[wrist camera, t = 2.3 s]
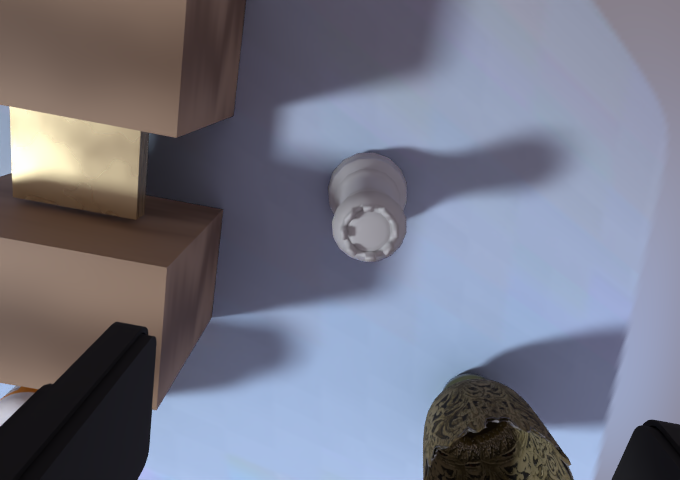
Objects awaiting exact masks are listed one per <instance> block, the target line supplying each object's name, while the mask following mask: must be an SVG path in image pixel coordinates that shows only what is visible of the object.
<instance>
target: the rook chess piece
mask: <svg viewBox="0 0 680 480" xmlns="http://www.w3.org/2000/svg"><path fill="white" fill-rule="evenodd" d="M328 196H329V206H330V208H331V210H332V212H333V214H334V217H333V220H332V230H333V237H334V239H335V241H336V243H337V245H338V247H339V248H340V249H341V250H342V251H343V252H344V253H345V254H347V255H348V256H349V257H351V258H354V259H357V260H359V261H362V262H376V261H380V260H382V259H384V258H387V257H389V256H391V255H392V254H393V253H394V252H395V251H396V250H397V249H398V248H399V247H400V246H401V244H402V242H403V239H404V237H405V235H406V217H405V215H404V213H403V210H404V208H405V205H406V203H407V182H406V180H405V178H404V176H403V173H402V171H401V169H400V168H399V167H398V166H397V165H396V164H395V163H394V162H393V161H392V160H391V159H389V158H388V157H385V156H382V155H379V154H377V153H358V154H355V155H353V156H351V157H349V158H347V159H345V160H343V161H342V162H341V163H340V165H339V166H338V167H337V168H336V169H335V170H334V171H333V173H332V176H331V179H330V182H329V184H328Z"/></svg>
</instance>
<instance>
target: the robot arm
mask: <svg viewBox="0 0 680 480" xmlns="http://www.w3.org/2000/svg"><path fill="white" fill-rule="evenodd" d="M156 345H157V340H156V337H155V336H150V335H148V329H147V328H146V327H144V326H139V325H133V324H128V323H122V322H114V323H113V324H112V325H111V326H110V327H109V328H108V329H107V330H106V331H105V332H104V333H103V334H102V335H101V336H100V337H99V338H98V339H97V340H96V341H95V342H94V343H93V344H92V345H91V346H90V347H89V348H88V349H87V350H86V351H85V352H84V353H83V354H82V355H81V356H80V357H79V358H78V359H77V360H76V361H75V362H74V363H73V364H72V365H71V366H70V367H69V368H68V369H67V370H66V371H65V372H64V373H63V374H62V375H61V376H60V377H59V378H58V379H57V380H56V381H55V383H54V384H51V383H49V384H46V385H43V386H42V387H41V388H40V389H38V390H37V391H36V392H35V393H34V394H33V395H32V396H31V397H30V398H29V399H28V400H27V401H26V402H25V403H24V404H23V405H22V406H21V407H20V408H19V409H18V410H17V411H16V412H15V413H14V414H13V415H12V416H10V417H9V418H8V419H7V420H6V421H5V422H4V423H3V424H2V425H1V426H0V480H137V479H138V477H139V476H140V474H141V472H142V470H143V468H144V466H145V463H146V460H147V457H148V452H149V443H150V429H151V415H152V401H153V387H154V373H155V359H156ZM612 480H680V425H679V424H673V423H668V422H663V421H657V420H648V421H647V422H645V423H644V424H643V426H638V427H637V428H636V429H635V430H634V432H633V434H632V436H631V438H630V441H629V443H628V445H627V447H626V449H625V452H624V454H623V456H622V458H621V460H620V463H619V465H618V467H617V469H616V471H615V474H614V476H613V478H612Z"/></svg>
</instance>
